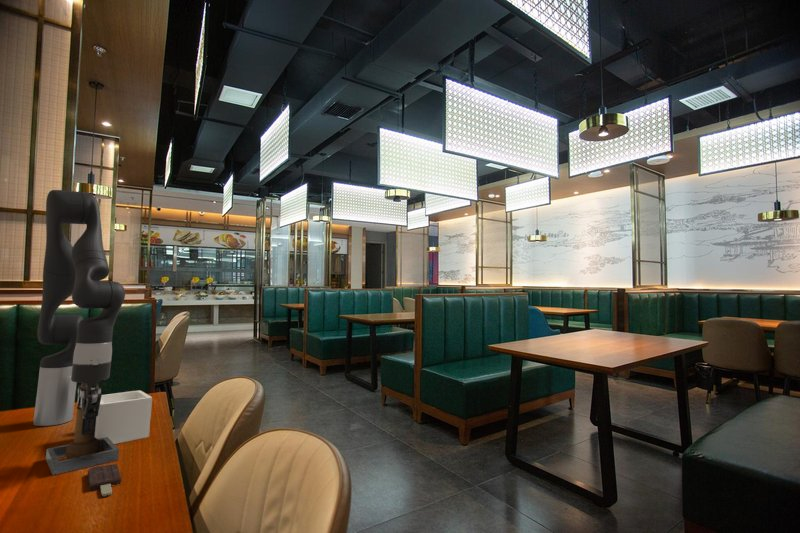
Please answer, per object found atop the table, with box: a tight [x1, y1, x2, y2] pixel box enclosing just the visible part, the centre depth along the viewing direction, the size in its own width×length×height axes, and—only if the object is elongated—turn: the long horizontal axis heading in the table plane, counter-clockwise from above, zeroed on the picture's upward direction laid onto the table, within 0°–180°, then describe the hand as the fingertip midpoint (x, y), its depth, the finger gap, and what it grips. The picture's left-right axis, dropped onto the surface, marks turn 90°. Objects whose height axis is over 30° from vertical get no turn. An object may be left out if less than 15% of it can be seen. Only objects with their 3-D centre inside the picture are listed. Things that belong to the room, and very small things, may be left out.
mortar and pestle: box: [65, 382, 101, 459], centre depth 95 cm, size 7×6×18 cm
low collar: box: [45, 437, 120, 476], centre depth 94 cm, size 12×12×2 cm
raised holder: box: [95, 390, 153, 445], centre depth 110 cm, size 12×12×11 cm
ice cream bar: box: [87, 463, 122, 497], centre depth 83 cm, size 5×2×15 cm
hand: (85, 431), depth 95 cm, fingers closed on mortar and pestle, 4 cm apart
